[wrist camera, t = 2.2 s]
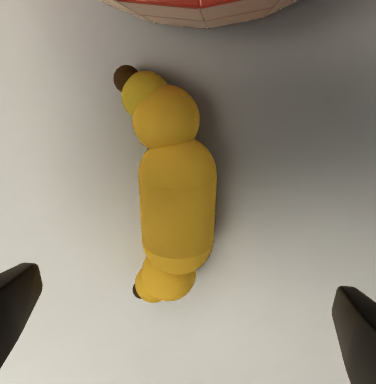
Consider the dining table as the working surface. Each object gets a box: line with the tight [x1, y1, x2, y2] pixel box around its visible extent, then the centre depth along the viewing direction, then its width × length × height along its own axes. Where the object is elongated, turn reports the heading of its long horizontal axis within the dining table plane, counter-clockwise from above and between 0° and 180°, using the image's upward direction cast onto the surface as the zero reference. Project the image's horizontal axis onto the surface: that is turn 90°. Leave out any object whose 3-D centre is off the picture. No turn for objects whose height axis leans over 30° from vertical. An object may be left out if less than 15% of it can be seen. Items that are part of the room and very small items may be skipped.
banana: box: [114, 65, 217, 303], centre depth 14 cm, size 12×4×3 cm, turn 179°
